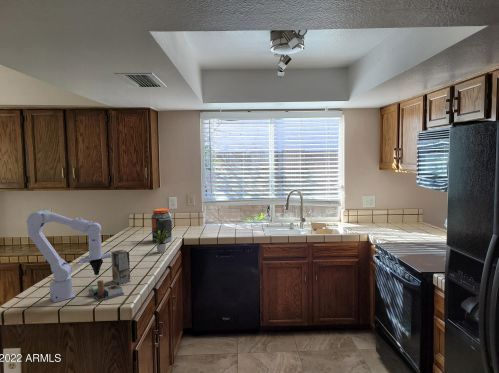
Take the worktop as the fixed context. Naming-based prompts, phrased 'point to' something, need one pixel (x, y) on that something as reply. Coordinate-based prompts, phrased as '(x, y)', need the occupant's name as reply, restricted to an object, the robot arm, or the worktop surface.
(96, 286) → the on button
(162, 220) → the jar with orange lid
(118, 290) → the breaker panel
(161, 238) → the house plant
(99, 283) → the walnut stylus
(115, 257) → the coffee box
